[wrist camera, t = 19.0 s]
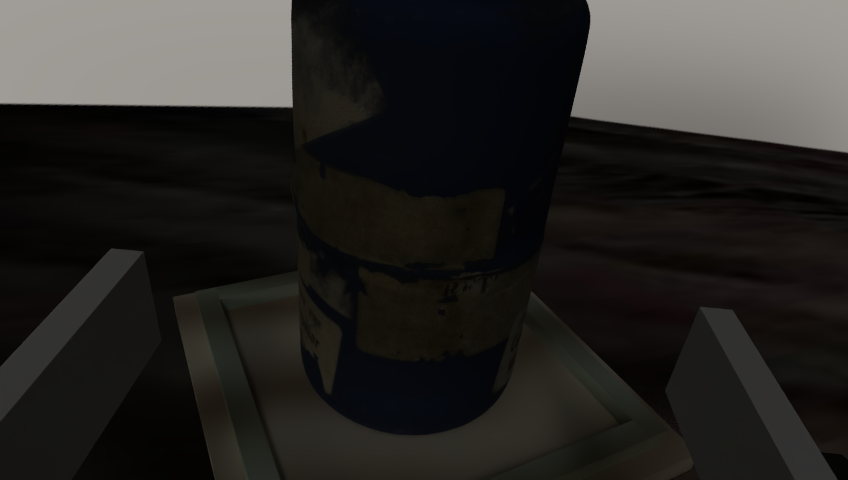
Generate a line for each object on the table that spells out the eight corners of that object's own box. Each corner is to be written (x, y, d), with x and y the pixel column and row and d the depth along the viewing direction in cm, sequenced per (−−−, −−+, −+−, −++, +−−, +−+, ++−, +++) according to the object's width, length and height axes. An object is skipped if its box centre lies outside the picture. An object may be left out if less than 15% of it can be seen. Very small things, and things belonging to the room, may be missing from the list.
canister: (274, 331, 29) (245, -95, 19) (443, 287, 33) (489, -81, 23) (350, 491, 22) (364, -54, 12) (552, 409, 26) (680, -44, 16)
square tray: (175, 312, 31) (170, 284, 30) (472, 249, 38) (476, 225, 37) (260, 676, 17) (256, 646, 16) (690, 469, 25) (704, 441, 24)
